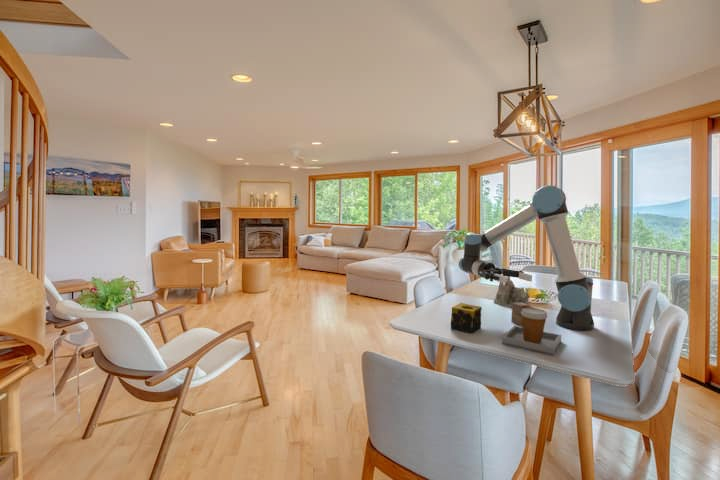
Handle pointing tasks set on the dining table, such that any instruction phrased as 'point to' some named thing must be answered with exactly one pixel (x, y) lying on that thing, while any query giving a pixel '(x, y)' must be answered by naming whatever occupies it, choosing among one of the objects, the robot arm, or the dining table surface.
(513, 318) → the walnut block
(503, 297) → the grey jagged rock
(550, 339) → the slate tray
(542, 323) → the disposable coffee cup
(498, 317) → the dining table surface
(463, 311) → the tissue box
